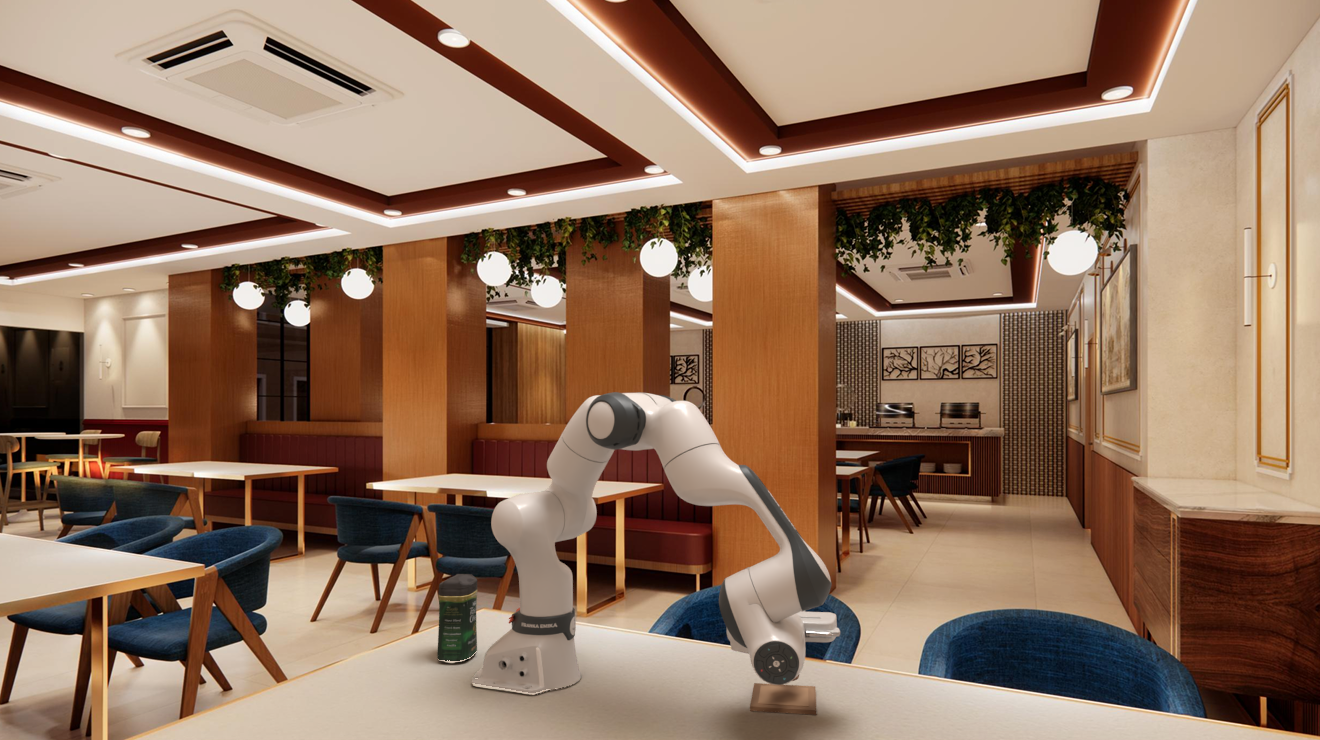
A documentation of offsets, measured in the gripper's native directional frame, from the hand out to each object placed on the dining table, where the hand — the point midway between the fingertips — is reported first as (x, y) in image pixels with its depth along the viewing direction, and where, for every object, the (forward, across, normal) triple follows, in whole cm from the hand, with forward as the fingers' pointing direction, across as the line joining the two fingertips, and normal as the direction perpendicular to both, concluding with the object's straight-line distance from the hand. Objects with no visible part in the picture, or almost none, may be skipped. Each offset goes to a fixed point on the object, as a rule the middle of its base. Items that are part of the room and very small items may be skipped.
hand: (781, 613), depth 141 cm
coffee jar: (+14, +74, +16) cm, 77 cm away
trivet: (0, 0, +16) cm, 16 cm away
